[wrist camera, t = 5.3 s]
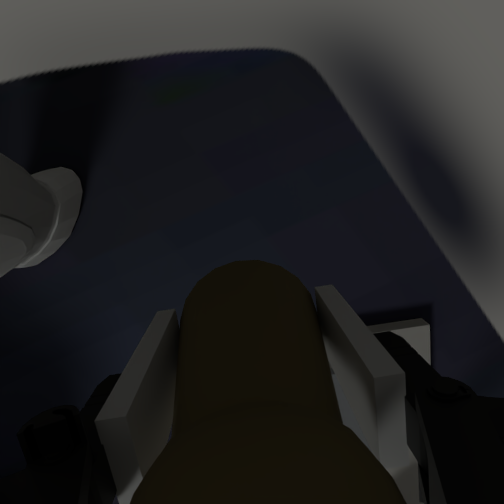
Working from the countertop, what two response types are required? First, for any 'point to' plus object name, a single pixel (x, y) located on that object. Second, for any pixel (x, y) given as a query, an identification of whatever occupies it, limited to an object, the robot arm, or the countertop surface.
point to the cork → (258, 403)
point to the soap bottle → (35, 213)
